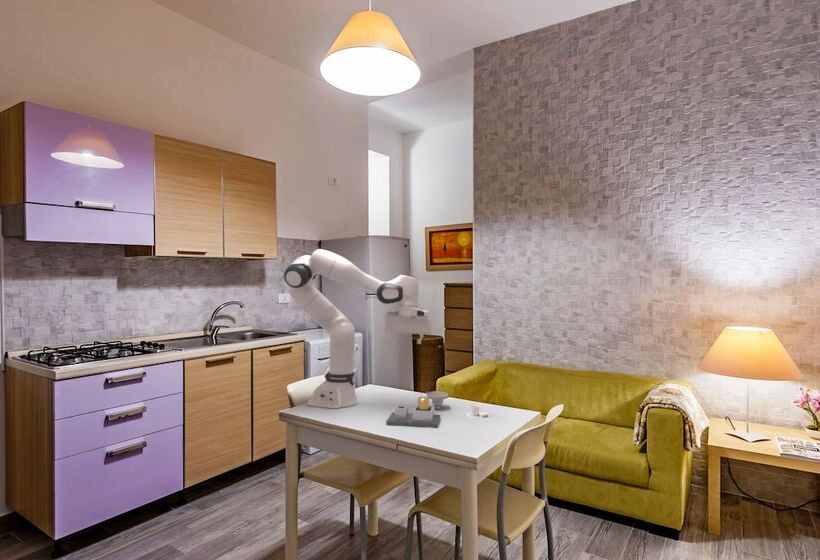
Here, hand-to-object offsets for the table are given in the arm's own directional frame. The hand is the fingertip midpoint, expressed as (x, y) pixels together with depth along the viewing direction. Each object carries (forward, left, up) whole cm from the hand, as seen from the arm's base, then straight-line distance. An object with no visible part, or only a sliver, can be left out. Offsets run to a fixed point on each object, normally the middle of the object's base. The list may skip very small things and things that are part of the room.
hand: (408, 343), depth 199 cm
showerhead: (+12, +6, -29) cm, 32 cm away
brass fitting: (+9, -15, -28) cm, 33 cm away
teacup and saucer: (+30, -4, -30) cm, 42 cm away
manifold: (+5, -15, -29) cm, 33 cm away
